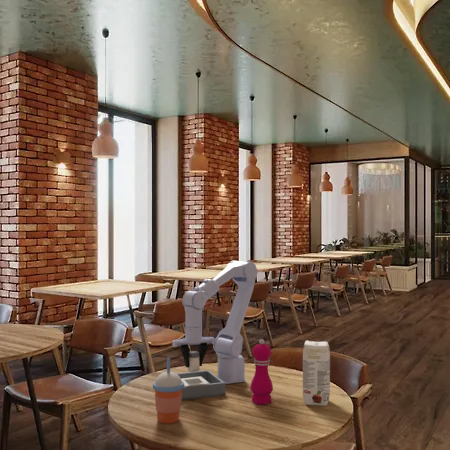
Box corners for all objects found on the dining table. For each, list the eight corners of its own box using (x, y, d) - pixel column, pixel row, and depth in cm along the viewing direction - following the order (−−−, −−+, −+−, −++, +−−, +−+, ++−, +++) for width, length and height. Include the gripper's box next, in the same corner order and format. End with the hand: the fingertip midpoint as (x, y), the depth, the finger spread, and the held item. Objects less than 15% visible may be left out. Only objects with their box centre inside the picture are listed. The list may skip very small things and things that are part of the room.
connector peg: (200, 368, 175) (200, 351, 175) (198, 372, 171) (199, 354, 171) (188, 368, 175) (188, 351, 175) (187, 371, 171) (187, 354, 171)
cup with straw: (146, 422, 145) (146, 359, 145) (164, 411, 153) (164, 352, 153) (172, 428, 141) (172, 363, 141) (189, 417, 149) (190, 356, 149)
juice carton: (329, 407, 157) (330, 346, 157) (302, 405, 159) (302, 344, 159) (329, 399, 165) (330, 340, 165) (303, 397, 167) (303, 339, 167)
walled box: (208, 381, 183) (208, 370, 183) (225, 394, 169) (225, 382, 169) (163, 386, 177) (163, 374, 177) (176, 401, 162) (176, 388, 162)
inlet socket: (201, 383, 178) (201, 376, 178) (209, 391, 171) (209, 383, 171) (178, 386, 175) (178, 379, 175) (185, 394, 167) (185, 386, 167)
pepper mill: (271, 406, 158) (271, 342, 158) (248, 404, 160) (248, 341, 160) (273, 398, 165) (274, 337, 165) (252, 396, 167) (252, 336, 167)
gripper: (209, 322, 179) (209, 360, 179) (170, 325, 174) (169, 365, 174) (216, 326, 173) (216, 366, 173) (175, 329, 167) (175, 370, 167)
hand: (193, 366), depth 173 cm, fingers closed on connector peg, 4 cm apart
